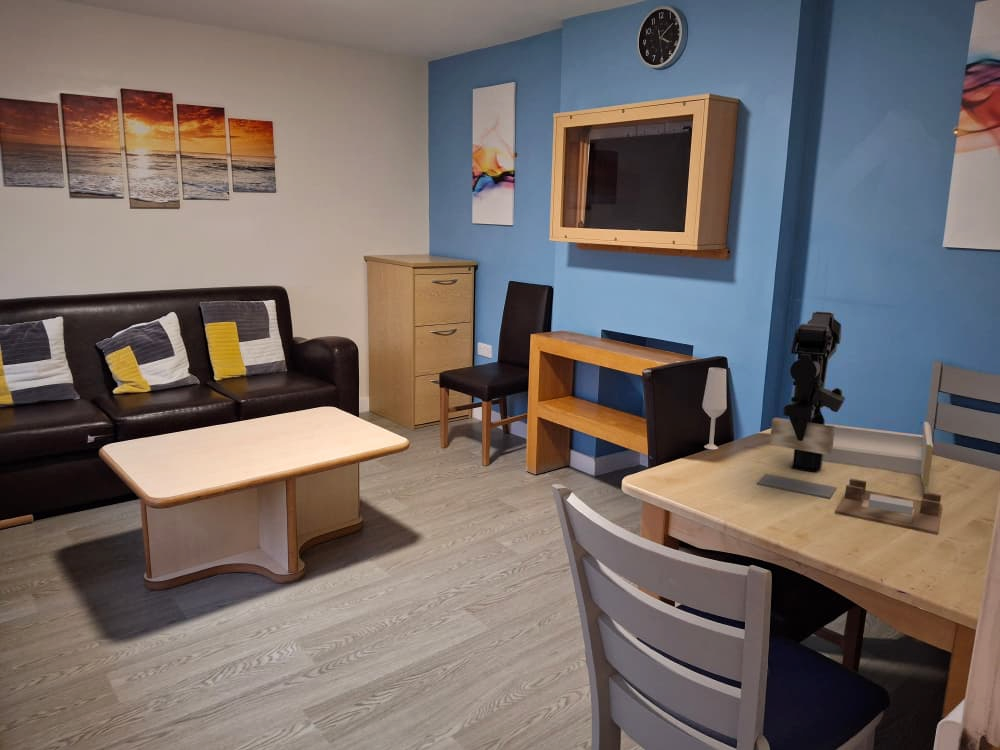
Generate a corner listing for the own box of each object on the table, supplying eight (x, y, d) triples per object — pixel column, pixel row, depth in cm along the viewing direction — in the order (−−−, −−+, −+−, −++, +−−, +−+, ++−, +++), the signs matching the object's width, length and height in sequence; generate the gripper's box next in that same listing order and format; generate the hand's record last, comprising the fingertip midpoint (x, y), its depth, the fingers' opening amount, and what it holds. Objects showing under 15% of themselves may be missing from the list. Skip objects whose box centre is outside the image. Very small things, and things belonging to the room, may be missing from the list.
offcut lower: (860, 513, 161) (861, 505, 160) (863, 507, 165) (864, 499, 164) (911, 524, 155) (912, 516, 155) (913, 517, 159) (914, 509, 159)
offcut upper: (868, 507, 160) (869, 499, 159) (869, 501, 163) (870, 493, 163) (912, 515, 156) (913, 507, 155) (911, 508, 159) (913, 501, 159)
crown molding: (928, 438, 195) (931, 432, 192) (927, 478, 190) (930, 473, 187) (804, 423, 208) (804, 417, 205) (799, 461, 202) (800, 455, 200)
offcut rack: (834, 513, 162) (836, 497, 162) (848, 489, 179) (849, 475, 178) (937, 534, 151) (940, 518, 151) (942, 507, 168) (944, 492, 167)
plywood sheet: (769, 445, 180) (772, 419, 179) (772, 442, 183) (774, 417, 182) (830, 455, 173) (833, 428, 172) (832, 452, 175) (835, 426, 174)
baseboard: (927, 493, 174) (934, 445, 172) (913, 491, 175) (920, 443, 173) (924, 464, 201) (930, 422, 199) (912, 462, 202) (918, 420, 200)
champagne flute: (727, 453, 207) (734, 371, 203) (706, 453, 206) (712, 371, 202) (715, 446, 214) (722, 366, 209) (694, 447, 212) (701, 367, 208)
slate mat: (756, 484, 181) (756, 482, 180) (765, 475, 188) (765, 473, 188) (829, 498, 171) (830, 497, 171) (836, 488, 179) (836, 487, 179)
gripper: (837, 387, 163) (830, 453, 165) (850, 375, 178) (843, 436, 181) (786, 381, 169) (779, 445, 171) (802, 370, 184) (796, 429, 187)
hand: (801, 439), depth 177 cm, fingers closed on plywood sheet, 3 cm apart
